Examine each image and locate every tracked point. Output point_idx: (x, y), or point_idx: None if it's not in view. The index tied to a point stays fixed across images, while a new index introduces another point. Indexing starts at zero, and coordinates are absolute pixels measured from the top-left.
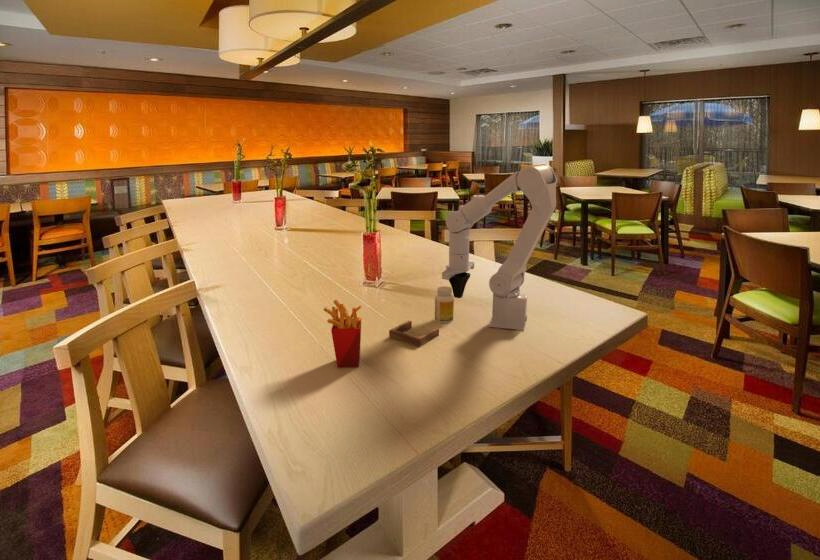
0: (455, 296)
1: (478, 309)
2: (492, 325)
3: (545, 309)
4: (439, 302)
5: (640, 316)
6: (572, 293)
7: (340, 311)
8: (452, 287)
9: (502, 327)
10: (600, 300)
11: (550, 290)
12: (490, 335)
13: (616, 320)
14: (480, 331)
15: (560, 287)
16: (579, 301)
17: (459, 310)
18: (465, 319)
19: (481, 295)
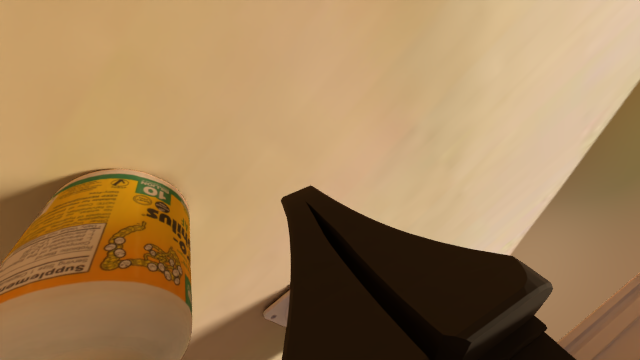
0: (285, 213)
1: (363, 171)
2: (275, 312)
3: (450, 244)
4: None
5: None
6: (549, 191)
7: None
8: (293, 259)
9: (286, 326)
10: (520, 239)
11: (565, 153)
12: (221, 353)
13: None
14: (214, 331)
15: (584, 149)
16: (509, 231)
17: (299, 138)
18: (242, 237)
19: (503, 42)
